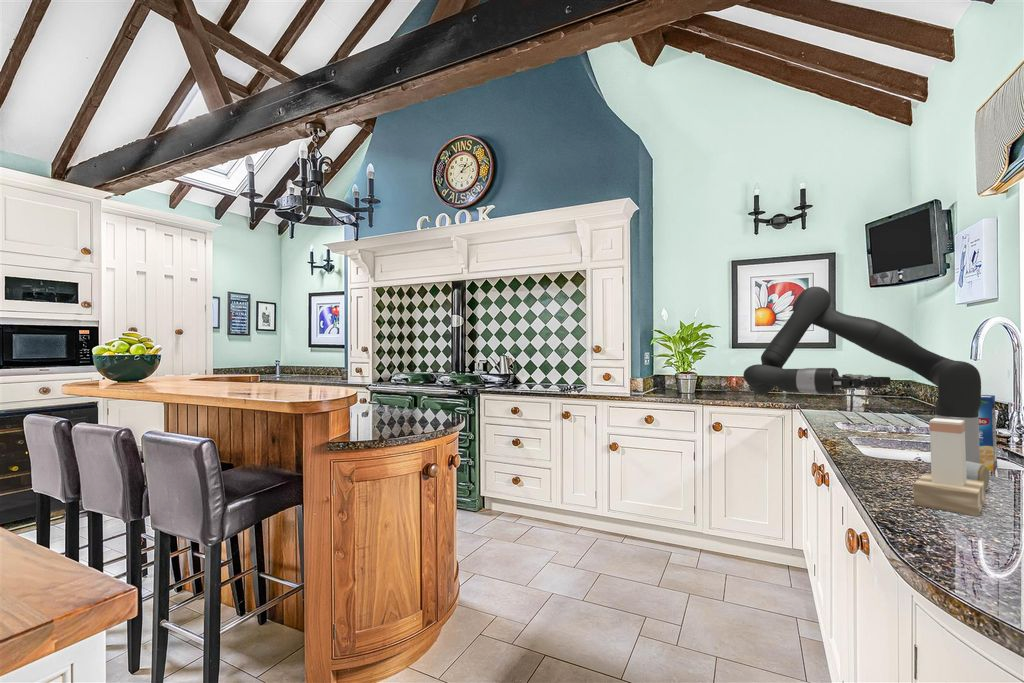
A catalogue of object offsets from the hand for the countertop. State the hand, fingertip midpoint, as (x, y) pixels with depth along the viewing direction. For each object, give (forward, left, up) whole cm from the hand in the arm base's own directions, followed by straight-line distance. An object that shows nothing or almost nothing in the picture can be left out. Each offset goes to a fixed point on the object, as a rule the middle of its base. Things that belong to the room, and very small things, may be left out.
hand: (886, 382), depth 127 cm
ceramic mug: (-16, +13, -29) cm, 35 cm away
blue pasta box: (-46, +11, -29) cm, 56 cm away
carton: (+4, +12, -24) cm, 27 cm away
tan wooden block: (+4, +12, -29) cm, 31 cm away
